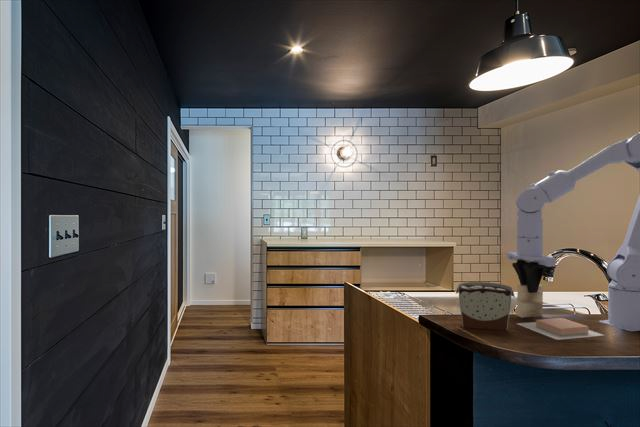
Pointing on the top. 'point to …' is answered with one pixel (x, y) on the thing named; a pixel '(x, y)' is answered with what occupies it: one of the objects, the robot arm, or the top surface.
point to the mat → (533, 327)
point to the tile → (562, 327)
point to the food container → (485, 305)
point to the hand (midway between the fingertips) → (529, 291)
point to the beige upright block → (529, 302)
